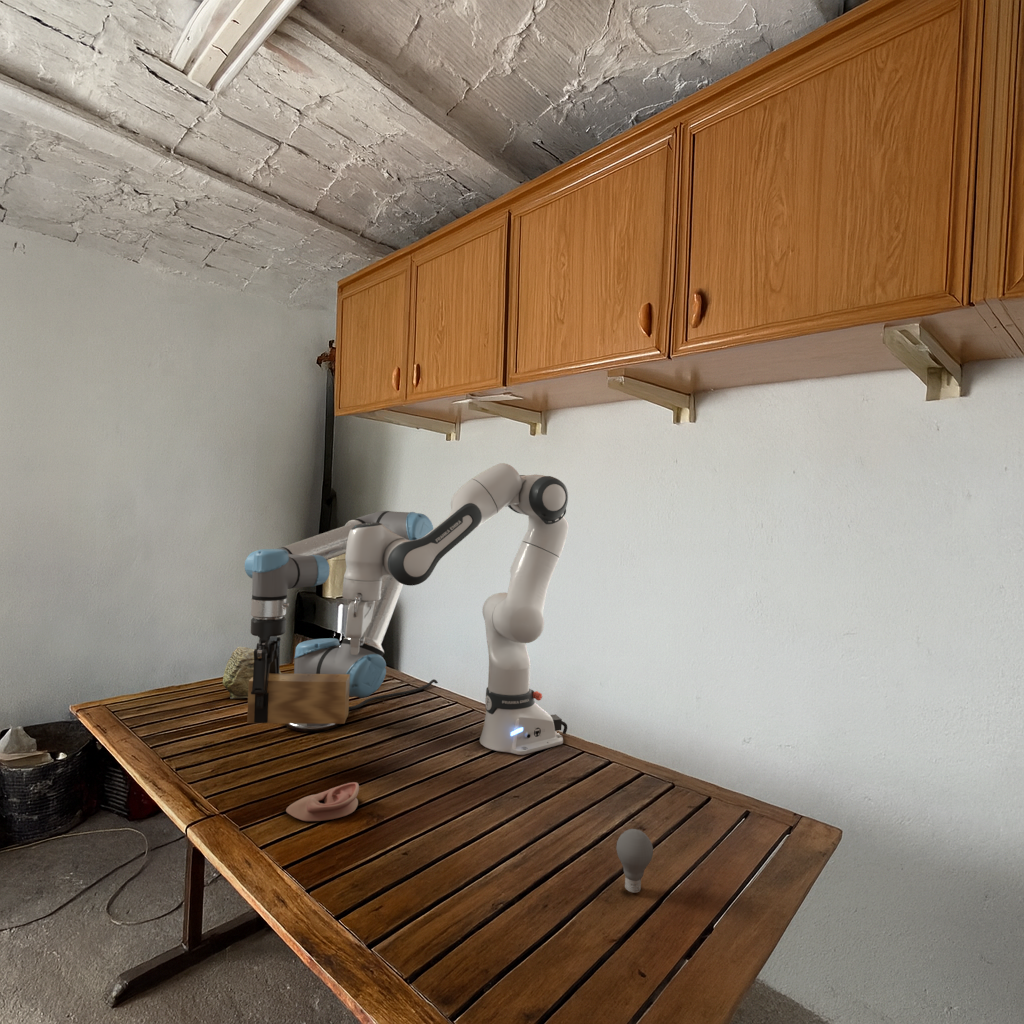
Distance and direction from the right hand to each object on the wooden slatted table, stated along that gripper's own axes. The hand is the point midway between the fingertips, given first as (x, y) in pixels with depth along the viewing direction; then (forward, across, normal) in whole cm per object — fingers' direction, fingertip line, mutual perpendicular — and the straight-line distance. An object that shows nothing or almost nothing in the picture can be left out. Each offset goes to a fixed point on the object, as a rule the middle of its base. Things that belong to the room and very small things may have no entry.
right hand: (357, 649), depth 149 cm
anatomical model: (+28, -21, +2) cm, 35 cm away
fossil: (+28, +53, +36) cm, 70 cm away
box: (+16, -2, +12) cm, 20 cm away
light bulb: (+26, -50, -54) cm, 78 cm away
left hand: (+16, -2, +19) cm, 25 cm away
